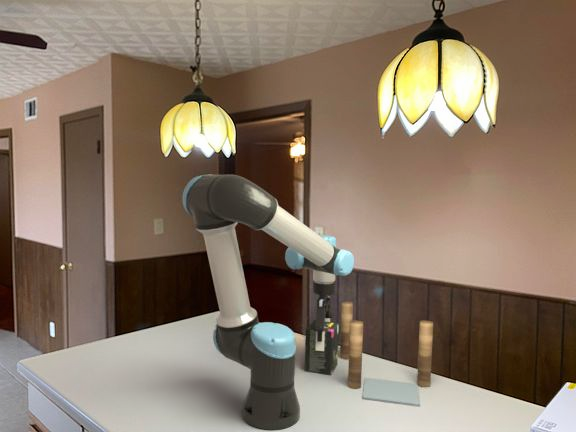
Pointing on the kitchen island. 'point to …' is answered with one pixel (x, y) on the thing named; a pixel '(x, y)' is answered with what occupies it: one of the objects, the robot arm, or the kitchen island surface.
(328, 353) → the tampon box
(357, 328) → the post corner
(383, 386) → the pad
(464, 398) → the kitchen island surface
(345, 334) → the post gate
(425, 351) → the post
